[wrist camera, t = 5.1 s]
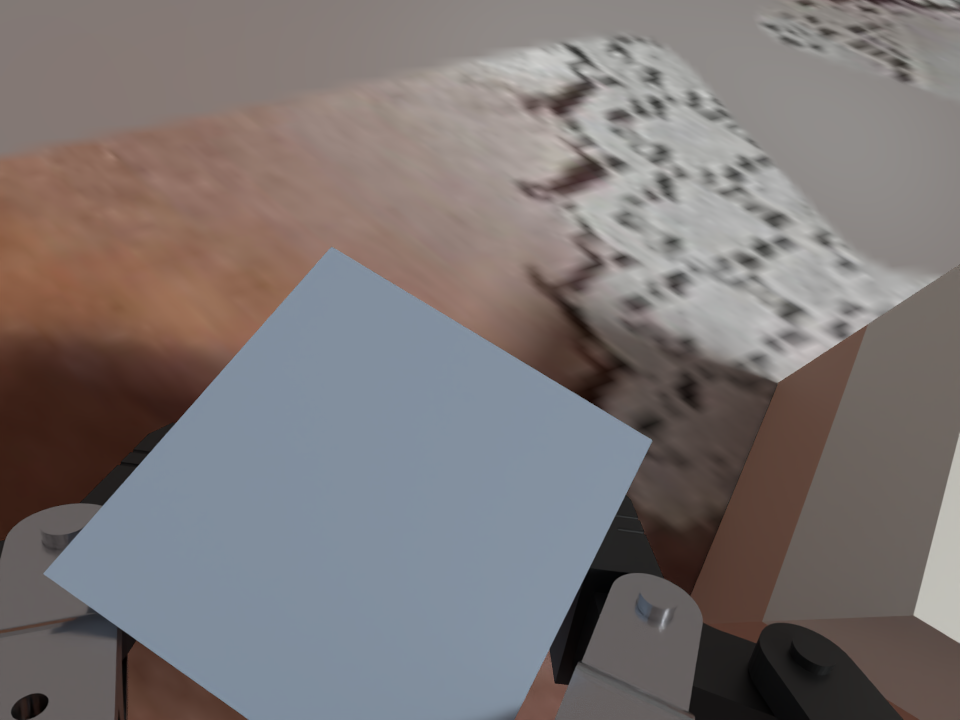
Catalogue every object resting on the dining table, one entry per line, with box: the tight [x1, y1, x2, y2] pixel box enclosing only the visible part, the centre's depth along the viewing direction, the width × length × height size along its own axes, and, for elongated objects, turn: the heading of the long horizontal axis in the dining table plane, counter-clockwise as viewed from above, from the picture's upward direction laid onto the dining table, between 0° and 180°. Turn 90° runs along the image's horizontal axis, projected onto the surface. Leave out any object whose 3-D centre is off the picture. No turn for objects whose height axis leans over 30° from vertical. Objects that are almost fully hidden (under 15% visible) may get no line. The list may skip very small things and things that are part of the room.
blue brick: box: [43, 247, 653, 720], centre depth 11 cm, size 4×4×10 cm
